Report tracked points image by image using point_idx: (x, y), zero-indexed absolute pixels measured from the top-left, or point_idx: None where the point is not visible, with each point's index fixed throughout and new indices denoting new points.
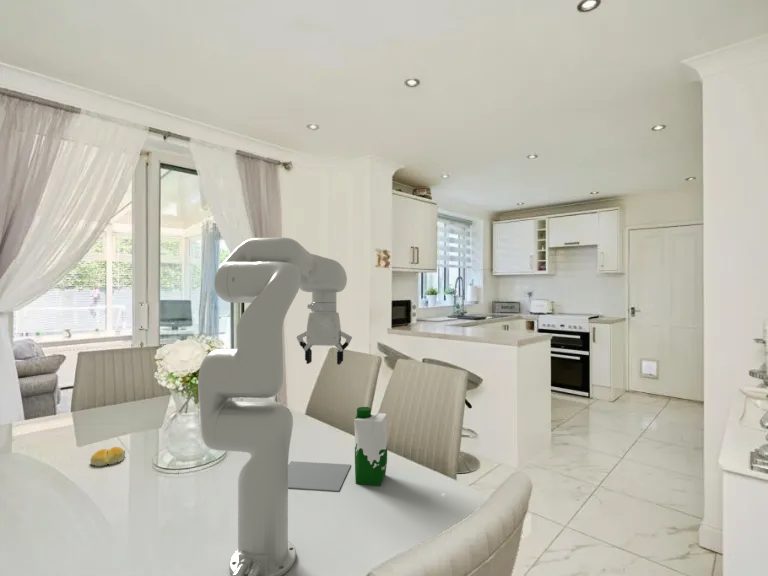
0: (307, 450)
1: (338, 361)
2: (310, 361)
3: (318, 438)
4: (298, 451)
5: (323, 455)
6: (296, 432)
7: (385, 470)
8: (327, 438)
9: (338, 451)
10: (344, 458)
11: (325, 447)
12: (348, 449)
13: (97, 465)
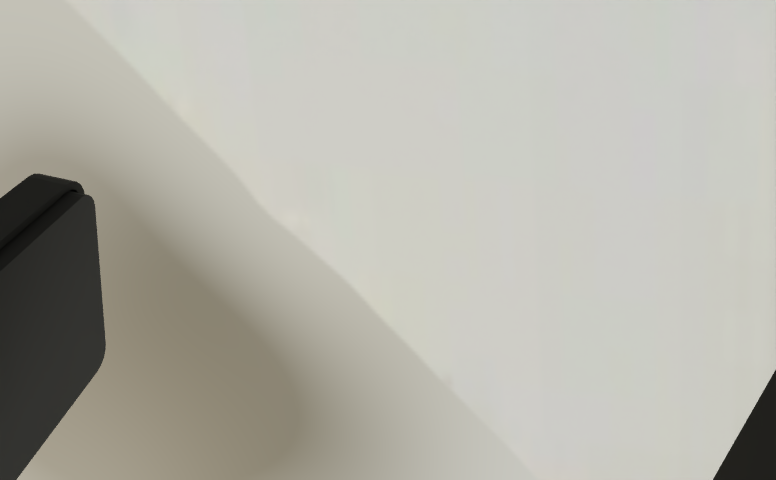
0: (610, 152)
1: (18, 205)
2: (743, 453)
3: (547, 305)
4: (666, 143)
5: (509, 73)
6: (677, 396)
7: None
8: (495, 300)
9: (422, 122)
10: (379, 20)
11: (501, 183)
12: (366, 144)
13: None
